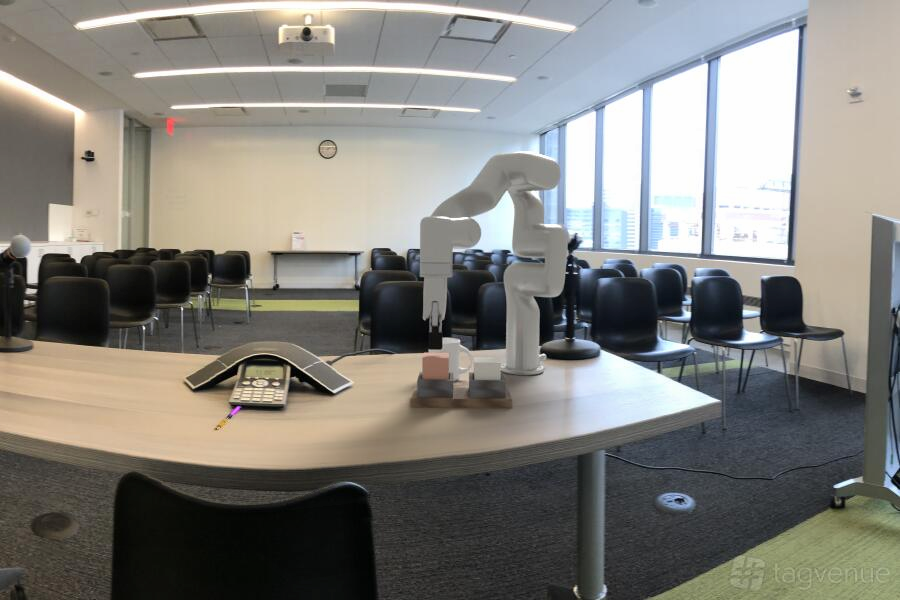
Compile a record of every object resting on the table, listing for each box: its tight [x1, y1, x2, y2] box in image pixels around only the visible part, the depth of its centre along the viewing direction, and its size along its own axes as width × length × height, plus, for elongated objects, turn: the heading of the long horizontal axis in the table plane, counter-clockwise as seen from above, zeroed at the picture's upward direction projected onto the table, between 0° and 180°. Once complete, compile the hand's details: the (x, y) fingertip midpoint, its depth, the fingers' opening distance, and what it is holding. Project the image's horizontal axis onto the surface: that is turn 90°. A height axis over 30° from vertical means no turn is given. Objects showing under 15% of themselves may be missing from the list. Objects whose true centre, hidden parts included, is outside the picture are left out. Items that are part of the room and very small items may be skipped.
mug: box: [428, 337, 473, 382], centre depth 156 cm, size 9×12×11 cm
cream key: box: [473, 356, 502, 380], centre depth 134 cm, size 6×6×6 cm
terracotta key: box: [421, 352, 449, 380], centre depth 134 cm, size 6×6×6 cm
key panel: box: [410, 371, 513, 409], centre depth 134 cm, size 23×10×6 cm, turn 89°
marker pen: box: [215, 405, 242, 429], centre depth 122 cm, size 3×1×16 cm
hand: (435, 348), depth 133 cm, fingers closed
